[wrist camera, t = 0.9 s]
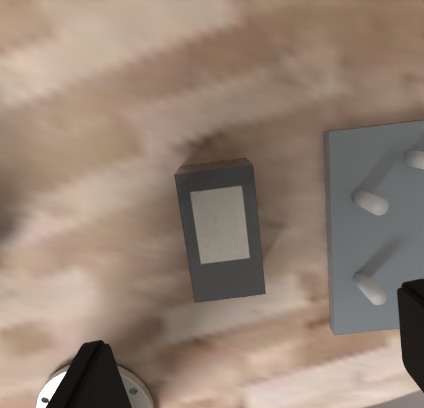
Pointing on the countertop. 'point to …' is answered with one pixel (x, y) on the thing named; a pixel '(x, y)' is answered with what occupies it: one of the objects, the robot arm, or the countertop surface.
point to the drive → (221, 229)
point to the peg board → (373, 222)
